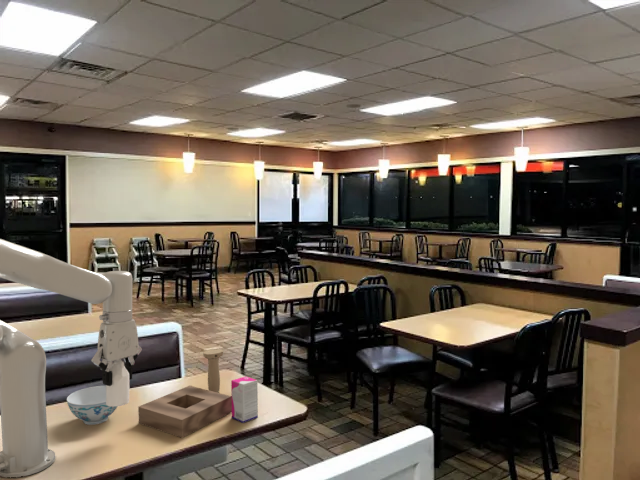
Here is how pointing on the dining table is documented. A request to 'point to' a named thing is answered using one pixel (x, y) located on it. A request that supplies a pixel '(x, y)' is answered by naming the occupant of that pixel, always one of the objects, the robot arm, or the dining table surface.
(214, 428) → the dining table surface
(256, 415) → the supplement box
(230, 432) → the dining table surface
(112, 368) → the white rounded piece
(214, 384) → the handle
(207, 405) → the well block
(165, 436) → the dining table surface
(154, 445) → the dining table surface
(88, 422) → the chinaware
